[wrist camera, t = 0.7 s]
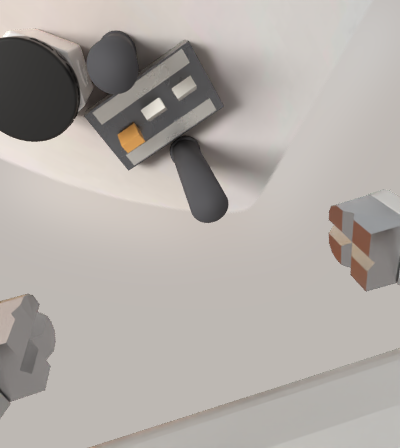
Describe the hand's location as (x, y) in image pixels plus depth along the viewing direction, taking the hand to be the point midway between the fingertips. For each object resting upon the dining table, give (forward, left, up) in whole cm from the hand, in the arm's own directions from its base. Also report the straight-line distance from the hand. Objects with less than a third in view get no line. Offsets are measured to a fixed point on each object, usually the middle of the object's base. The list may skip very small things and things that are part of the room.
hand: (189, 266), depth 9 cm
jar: (+8, -6, -36) cm, 37 cm away
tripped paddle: (+4, +3, -33) cm, 33 cm away
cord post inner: (0, -4, -36) cm, 36 cm away
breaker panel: (0, +3, -36) cm, 36 cm away
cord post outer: (0, +10, -36) cm, 37 cm away
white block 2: (-4, +3, -33) cm, 33 cm away
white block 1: (0, +3, -33) cm, 33 cm away
